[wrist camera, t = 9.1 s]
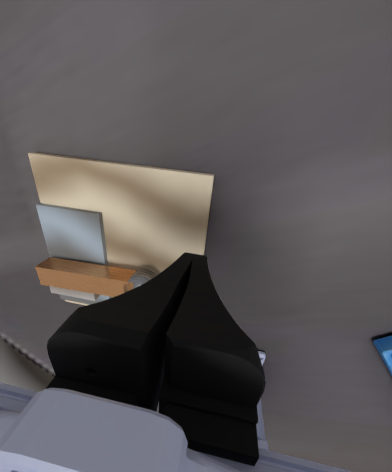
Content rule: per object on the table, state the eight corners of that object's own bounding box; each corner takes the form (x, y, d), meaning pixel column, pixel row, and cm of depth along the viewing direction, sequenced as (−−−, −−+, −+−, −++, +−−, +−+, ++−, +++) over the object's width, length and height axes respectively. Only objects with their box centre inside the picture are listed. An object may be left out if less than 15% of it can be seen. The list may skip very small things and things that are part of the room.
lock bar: (159, 270, 22) (152, 282, 20) (159, 293, 23) (153, 306, 21) (49, 254, 23) (33, 263, 21) (55, 276, 24) (42, 287, 23)
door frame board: (195, 320, 27) (190, 344, 24) (70, 296, 29) (51, 315, 25) (214, 174, 18) (211, 181, 15) (36, 152, 20) (1, 154, 17)
